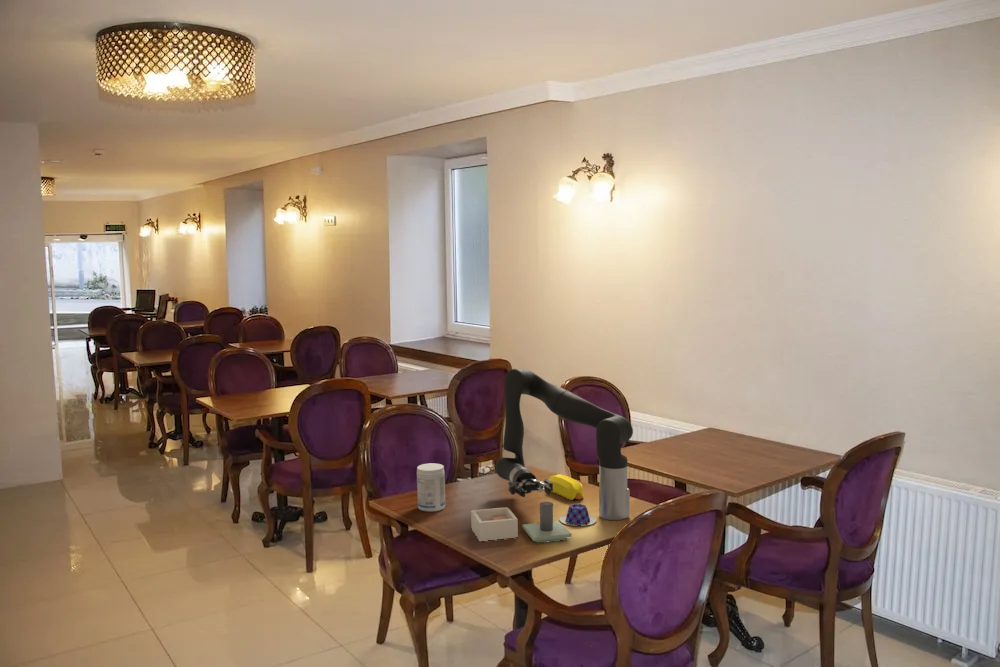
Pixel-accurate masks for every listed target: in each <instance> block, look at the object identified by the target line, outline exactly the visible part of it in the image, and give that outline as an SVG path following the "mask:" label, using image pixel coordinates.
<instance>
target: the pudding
mask: <svg viewBox="0 0 1000 667" xmlns="http://www.w3.org/2000/svg"><path fill="white" fill-rule="evenodd" d="M565 517H566V520H565V521H566V522H565V521H564V519H565ZM590 519H591V520H590ZM558 521H559V522H560V523H561V524H563V525H567V526H575V527H578V526H577V525H581V524H585V525H581V526H580V527H584V526H590V525H593V524H595V523H596V522H597V518H595V516H593V515H590V514H589V511H588V507H587V506H586V505H585V504H582V503H573V504H570V505H569V507H568V509H567V513H566V514H564V515H561V516H560V517H559V519H558ZM589 522H590V523H589ZM567 523H569V524H567ZM570 524H571V525H570ZM574 524H575V525H574ZM586 524H587V525H586Z"/></svg>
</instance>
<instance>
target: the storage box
mask: <svg viewBox="0 0 1000 667" xmlns="http://www.w3.org/2000/svg"><path fill="white" fill-rule="evenodd" d="M470 513H471V514H470V516H471V519H470V520H471V522H470V523H471V525H470V526H471V528H472V529H471V530H472V532H473V533H475V534H474V536H475V537H476V536H477V537H476V538H477V540H478V541H485V542H489V541H488V540H495V541H498V540H497V539H503V538H504V540H506V539H505V538H513V537H519V536H518V534H519V532H518V531H519V527H518V526H519V524H518V521H519V519H518V518H517V517H516V515H515V514H514V513H513V511H512V510H511V509H510V508H509V507H507V506H505V507H496V508H495V507H492V508H481V509H474V510H471V512H470Z"/></svg>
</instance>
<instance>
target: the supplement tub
mask: <svg viewBox="0 0 1000 667" xmlns="http://www.w3.org/2000/svg"><path fill="white" fill-rule="evenodd" d="M445 477H446V476H445V466H444V465H443V464H440V463H433V462H432V463H431V462H429V463H422V464H419V465H418V466H417V467H416V487H417V488H416V489H417V490H416V494H417V508H418V509H419V510H420V511H421V512H429V513H432V512H433V513H434V512H439V511H441V510H444V508H445V507H446V484H445V483H446V481H445V479H446V478H445Z"/></svg>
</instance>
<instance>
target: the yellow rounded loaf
mask: <svg viewBox="0 0 1000 667" xmlns="http://www.w3.org/2000/svg"><path fill="white" fill-rule="evenodd" d="M548 480H549V481H551V482H552V483H553V491H551V493H552V492H553V493H552V494H555V493H556V494H555V495H558V496H561V497H563V498H564V497H565V499H566V498H567V500H568V499H569V500H568V501H573V500H574V499H576V500H581V499H583V498H584V497H585V496H584V495H585V493H584V485H583V484H582V483H581V482H580V481H578V480H576V479H574V478H572V477H570V476H567V475H564V474H560V473H558V474H556V475H551V476H550V477H549V478H548Z"/></svg>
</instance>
